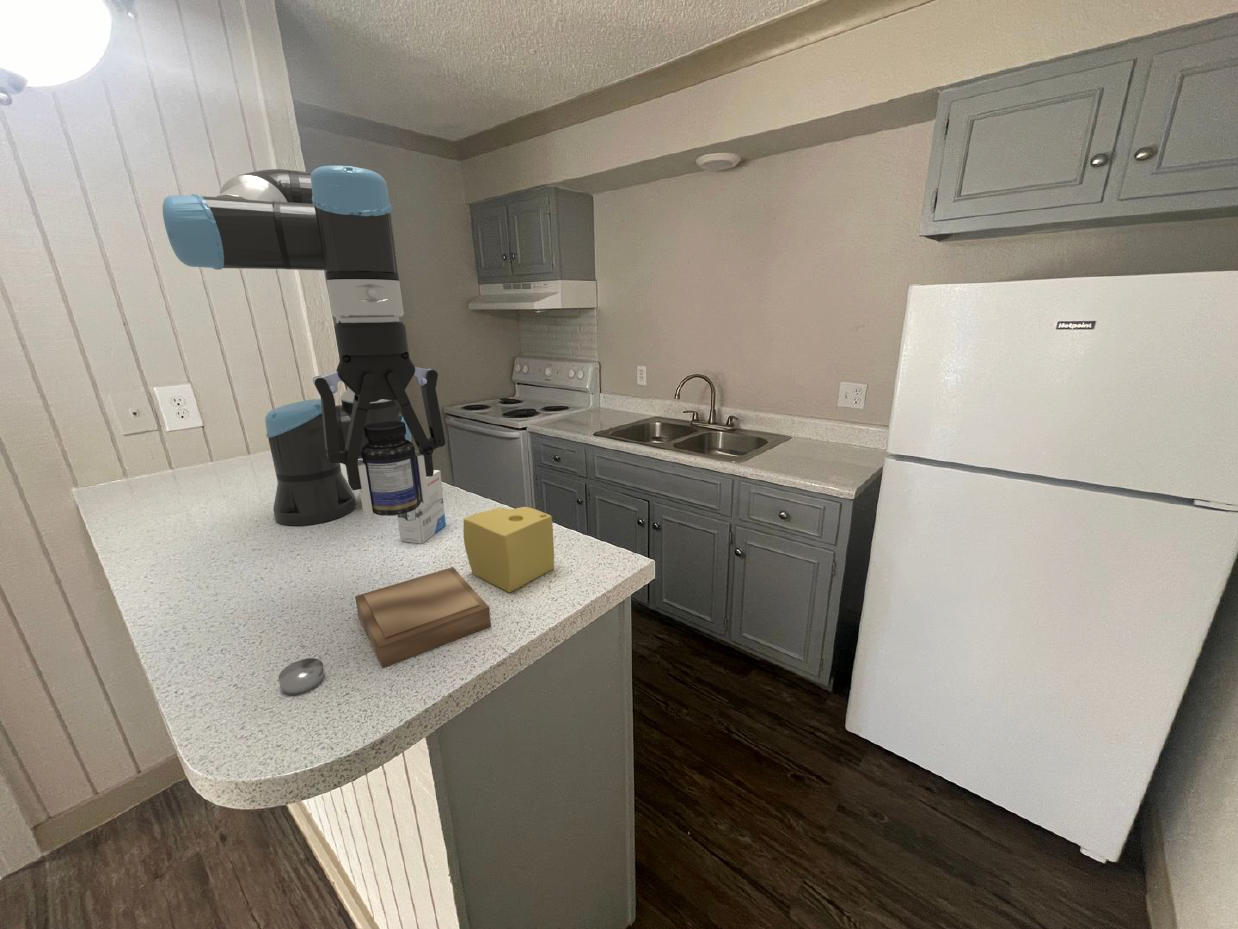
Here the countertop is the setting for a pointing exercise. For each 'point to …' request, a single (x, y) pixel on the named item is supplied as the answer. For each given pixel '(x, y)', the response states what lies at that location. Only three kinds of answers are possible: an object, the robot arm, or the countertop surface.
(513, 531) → the cheese
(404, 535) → the ink box
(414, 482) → the pill bottle
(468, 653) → the countertop surface
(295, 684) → the grey metal puck
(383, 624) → the walnut stand
